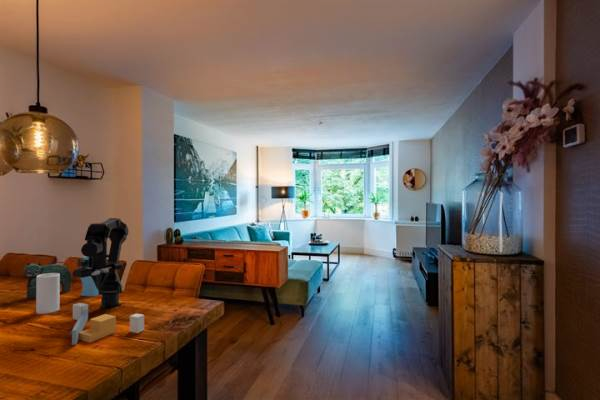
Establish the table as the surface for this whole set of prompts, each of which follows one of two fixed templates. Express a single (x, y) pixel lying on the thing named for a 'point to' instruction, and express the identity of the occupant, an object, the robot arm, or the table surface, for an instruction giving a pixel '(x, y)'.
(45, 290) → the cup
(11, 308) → the table surface
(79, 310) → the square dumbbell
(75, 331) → the grey end-capped bar
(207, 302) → the table surface
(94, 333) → the wedge
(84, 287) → the vase
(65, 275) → the ceramic cat
